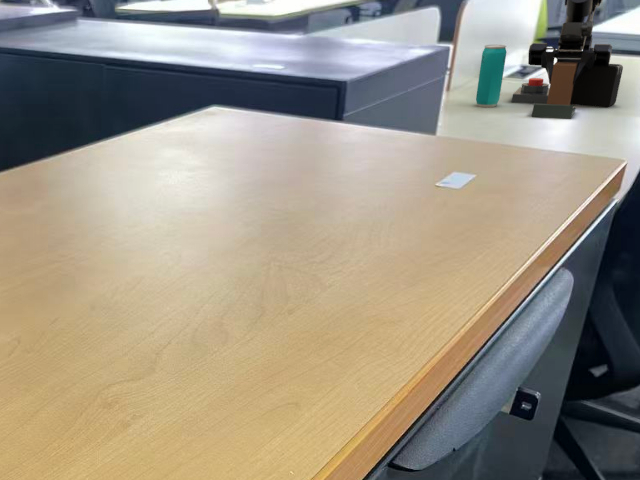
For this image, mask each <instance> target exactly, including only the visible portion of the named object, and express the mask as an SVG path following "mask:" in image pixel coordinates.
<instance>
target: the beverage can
mask: <svg viewBox="0 0 640 480" xmlns="http://www.w3.org/2000/svg"><path fill="white" fill-rule="evenodd" d="M506 48H507V45H505V44H486V45H484V49H483V50H482V54H481V61H480V67H479V68H480V69H479V74H478V81H477V88H476V89H477V90H476V96H475V101H476V102H475V103H476V106H477V107H478V108H495V107H496V106H497V105H498V103H499V101H500V98H501V91H502V83H503V78H504V70H505V64H506V57H507V49H506Z"/></svg>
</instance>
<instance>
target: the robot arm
mask: <svg viewBox="0 0 640 480" xmlns="http://www.w3.org/2000/svg"><path fill="white" fill-rule="evenodd" d="M602 3H603V0H564V6H565V8H566V10H565V11H566V12H565V13H566V18H565V22H563V23H562V27H561V31H560V35H559V38H558V41H557V46H558V48H555V47H554V46H548V42H533V43H532V44H530V45H529V48H528V56H527V57H528V58H527V59H528V61H527V62H528V63H527V64H528V65H529V66H537V67H539V66H540V67H541V69H545V71H546V73H547V77H548V84H549V85H550V83H551V77H552V72H553V66H554V64H555V60H556V62H571V63H578V68H577V70H576V73H575V75H574V80H573V85H574V84H575V83H576V82H577V81H578V80H579V78H580V77H581V76H582V75H583V74H584V73H585V72H587V71H588V70H589V69H593V68H594V67H608V66H609V64H610V61H611V56H612V50H613V46H612V45H611V44H610V43H595V44H594V45H593V34H592V33H593V28H594V22H595V21H593V19H594V15H595V11H596V8H599V7H600V6H601V4H602Z"/></svg>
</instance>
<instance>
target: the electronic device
mask: <svg viewBox="0 0 640 480" xmlns="http://www.w3.org/2000/svg"><path fill="white" fill-rule="evenodd" d="M577 68H578V65H577ZM623 69H624V67H623V65H622V64H621V63H609V66H608V67H594V68H593V69H589V70H588V71H587V72H585V73H584V74H583V75H582V76H581V77H580V78H579V80H578V81H577V82H576V83H575V84H574V86H573V91H572V96H571V102H570V105H574V106H583V107H585V106H586V107H595V108H609V107H612V106H614V105H616V103H617V98H618V94H619V89H620V85H621V78H622V75H623Z"/></svg>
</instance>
